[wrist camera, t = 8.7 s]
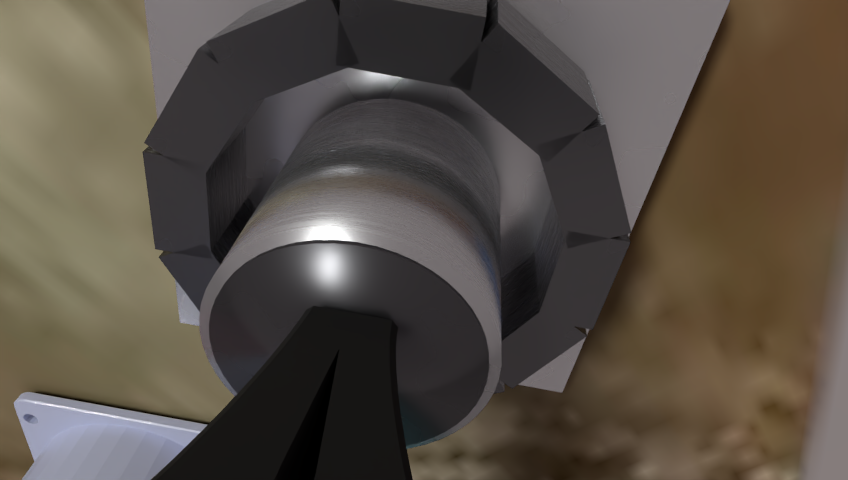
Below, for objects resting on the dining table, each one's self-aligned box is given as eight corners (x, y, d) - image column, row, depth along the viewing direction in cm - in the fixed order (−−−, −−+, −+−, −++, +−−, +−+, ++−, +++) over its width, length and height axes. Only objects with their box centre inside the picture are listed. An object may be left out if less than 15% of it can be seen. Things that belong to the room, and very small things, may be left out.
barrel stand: (559, 366, 18) (570, 459, 15) (194, 299, 18) (141, 381, 15) (719, -27, 12) (785, 15, 9) (156, -131, 11) (55, -121, 9)
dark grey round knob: (494, 290, 15) (493, 465, 11) (301, 279, 16) (229, 444, 11) (507, 101, 12) (512, 240, 8) (271, 95, 13) (162, 223, 9)
